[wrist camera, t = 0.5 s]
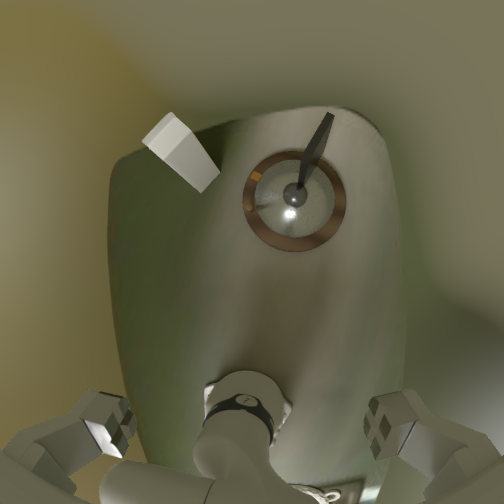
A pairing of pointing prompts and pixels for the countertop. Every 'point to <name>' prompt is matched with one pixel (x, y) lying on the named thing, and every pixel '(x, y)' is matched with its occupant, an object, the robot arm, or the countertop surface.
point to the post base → (290, 242)
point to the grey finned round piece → (297, 190)
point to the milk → (182, 151)
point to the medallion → (318, 493)
